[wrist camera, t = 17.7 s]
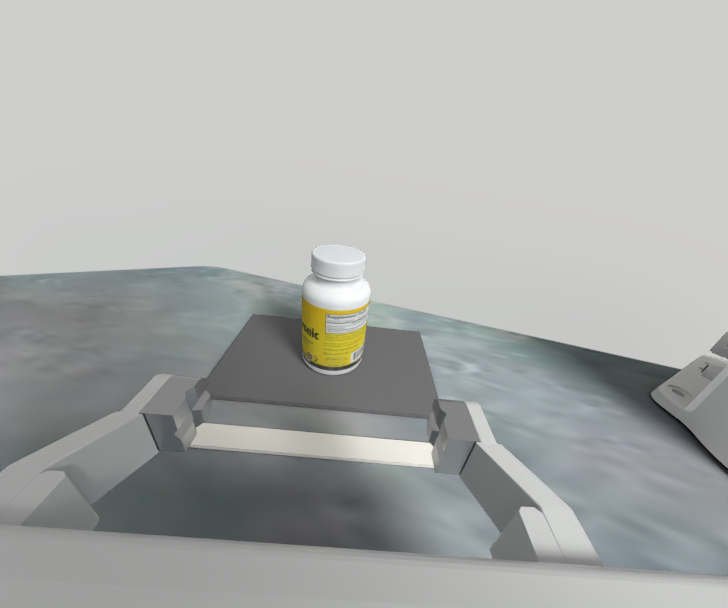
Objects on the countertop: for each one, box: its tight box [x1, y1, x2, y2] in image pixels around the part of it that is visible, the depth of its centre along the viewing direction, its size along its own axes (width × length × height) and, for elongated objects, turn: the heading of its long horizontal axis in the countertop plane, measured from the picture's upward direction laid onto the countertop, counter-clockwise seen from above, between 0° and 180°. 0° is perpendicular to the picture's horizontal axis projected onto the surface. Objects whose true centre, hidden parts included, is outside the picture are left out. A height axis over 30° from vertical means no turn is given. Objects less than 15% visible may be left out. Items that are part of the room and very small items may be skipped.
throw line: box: [189, 423, 434, 468], centre depth 18 cm, size 22×2×1 cm, turn 89°
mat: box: [206, 314, 438, 419], centre depth 25 cm, size 18×11×1 cm, turn 89°
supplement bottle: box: [302, 245, 371, 375], centre depth 22 cm, size 5×5×10 cm
